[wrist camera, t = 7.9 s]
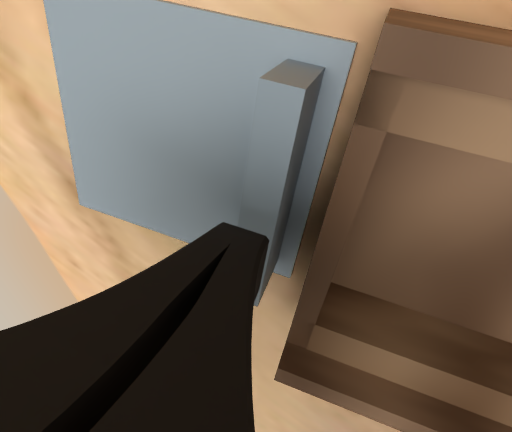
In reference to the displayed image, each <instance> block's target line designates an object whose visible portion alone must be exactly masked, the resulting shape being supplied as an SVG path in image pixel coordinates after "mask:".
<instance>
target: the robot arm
mask: <svg viewBox="0 0 512 432" xmlns="http://www.w3.org/2000/svg"><path fill="white" fill-rule="evenodd" d="M268 245H269V239H268V238H267V236H265V235H262V234H259V233H256V232H253V231H250V230H247V229H244V228H241V227H238V226H234V225H231V224H228V223H225V222H222V223H220V224H218V225H217V226H215V227H214V228H212V229H211V230H209V231H208V232H206V233H205V234H203V235H202V236H200V237H199V238H197V239H196V240H194V241H192V242H191V243H189V244H188V245H186V246H185V247H183V248H181V249H180V250H178V251H176V252H175V253H173V254H172V255H170V256H168V257H167V258H165V259H163V260H162V261H160V262H158V263H156V264H155V265H153V266H151V267H149V268H147V269H146V270H144V271H142V272H140V273H138V274H136V275H134V276H133V277H131V278H129V279H127V280H125V281H123V282H121V283H119V284H117V285H115V286H113V287H111V288H109V289H107V290H105V291H103V292H100V293H98V294H96V295H94V296H91V297H89V298H87V299H85V300H82V301H80V302H78V303H75V304H73V305H70V306H68V307H65V308H63V309H60V310H58V311H55V312H52V313H50V314H47V315H44V316H42V317H39V318H36V319H34V320H31V321H29V322H26V323H23V324H20V325H17V326H14V327H11V328H8V329H5V330H2V331H0V432H255V427H254V414H253V400H252V373H251V339H252V316H253V306H254V302H255V299H256V297H257V294H258V291H259V288H260V284H261V279H262V274H263V269H264V264H265V259H266V255H267V250H268Z"/></svg>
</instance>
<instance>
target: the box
mask: <svg viewBox="0 0 512 432" xmlns="http://www.w3.org/2000/svg"><path fill="white" fill-rule="evenodd" d="M274 380H276V381H278V382H281V383H283V384H286V385H288V386H291V387H293V388H296V389H298V390H301V391H303V392H306V393H308V394H310V395H313V396H315V397H318V398H320V399H323V400H325V401H328V402H330V403H333V404H335V405H338V406H340V407H343V408H345V409H348V410H350V411H353V412H355V413H358V414H360V415H363V416H365V417H367V418H370V419H372V420H375V421H377V422H380V423H382V424H385V425H387V426H390V427H392V428H395V429H397V430H400V431H402V432H512V30H507V29H501V28H496V27H491V26H485V25H480V24H474V23H469V22H464V21H458V20H453V19H447V18H442V17H436V16H431V15H426V14H420V13H415V12H409V11H404V10H398V9H393V8H390V10H389V13H388V15H387V18H386V20H385V22H384V25H383V29H382V32H381V35H380V38H379V42H378V45H377V48H376V51H375V55H374V58H373V61H372V64H371V68H370V73H369V76H368V79H367V82H366V86H365V89H364V92H363V95H362V98H361V102H360V105H359V108H358V111H357V115H356V118H355V121H354V124H353V128H352V131H351V134H350V137H349V140H348V144H347V147H346V150H345V153H344V157H343V160H342V163H341V166H340V170H339V173H338V176H337V179H336V182H335V186H334V189H333V192H332V195H331V199H330V202H329V205H328V208H327V212H326V215H325V218H324V221H323V224H322V228H321V231H320V234H319V237H318V241H317V244H316V247H315V250H314V253H313V257H312V260H311V263H310V266H309V270H308V273H307V276H306V279H305V283H304V286H303V289H302V292H301V295H300V299H299V302H298V305H297V308H296V312H295V315H294V318H293V321H292V325H291V328H290V331H289V334H288V337H287V341H286V344H285V347H284V350H283V353H282V356H281V359H280V362H279V366H278V369H277V372H276V375H275V378H274Z"/></svg>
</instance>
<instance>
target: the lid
mask: <svg viewBox="0 0 512 432" xmlns="http://www.w3.org/2000/svg"><path fill="white" fill-rule="evenodd" d="M43 1H44V7H45V12H46V18H47V24H48V29H49V35H50V40H51V46H52V52H53V57H54V63H55V69H56V74H57V80H58V85H59V91H60V97H61V102H62V108H63V114H64V119H65V125H66V130H67V136H68V142H69V147H70V153H71V159H72V164H73V170H74V175H75V181H76V187H77V192H78V198H79V203H80V205H82V206H85V207H87V208H90V209H93V210H96V211H99V212H102V213H105V214H107V215H110V216H113V217H116V218H119V219H122V220H125V221H128V222H130V223H133V224H136V225H139V226H142V227H145V228H148V229H150V230H153V231H156V232H159V233H162V234H165V235H168V236H171V237H173V238H176V239H179V240H182V241H185V242H188V243H191V242H192V241H194V240H196V239H197V238H199V237H200V236H202V235H203V234H205V233H206V232H208V231H209V230H211V229H212V228H214V227H215V226H217V225H218V224H220V223H222V222H225V223H228V224H231V225H234V226H238V227H241V228H244V229H247V230H250V231H253V232H256V233H259V234H262V235H265V236H267V238H268V239H269V245H268V250H267V255H266V259H265V264H264V269H263V274H262V279H261V284H260V288H259V291H258V294H257V297H256V299H255V302H254V305H255V306H258V304H259V302H260V300H261V298H262V295H263V293H264V291H265V289H266V286H267V284H268V282H269V280H270V277H271V275H272V273H273V272H274V273H277V274H279V275H282V276H285V277H288V278H290V277H291V274H292V271H293V267H294V264H295V260H296V257H297V253H298V250H299V246H300V243H301V239H302V236H303V232H304V229H305V225H306V221H307V218H308V214H309V211H310V207H311V204H312V200H313V197H314V193H315V190H316V186H317V183H318V179H319V176H320V172H321V169H322V165H323V162H324V158H325V155H326V151H327V148H328V144H329V140H330V137H331V133H332V130H333V126H334V123H335V119H336V116H337V112H338V109H339V105H340V102H341V98H342V95H343V91H344V88H345V84H346V81H347V77H348V74H349V70H350V67H351V63H352V59H353V56H354V52H355V49H356V45H357V42H355V41H350V40H345V39H341V38H336V37H331V36H327V35H322V34H317V33H312V32H308V31H303V30H298V29H294V28H289V27H284V26H280V25H275V24H270V23H266V22H261V21H256V20H252V19H247V18H242V17H238V16H233V15H228V14H224V13H219V12H214V11H210V10H205V9H200V8H196V7H191V6H186V5H182V4H177V3H172V2H168V1H163V0H43Z"/></svg>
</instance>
